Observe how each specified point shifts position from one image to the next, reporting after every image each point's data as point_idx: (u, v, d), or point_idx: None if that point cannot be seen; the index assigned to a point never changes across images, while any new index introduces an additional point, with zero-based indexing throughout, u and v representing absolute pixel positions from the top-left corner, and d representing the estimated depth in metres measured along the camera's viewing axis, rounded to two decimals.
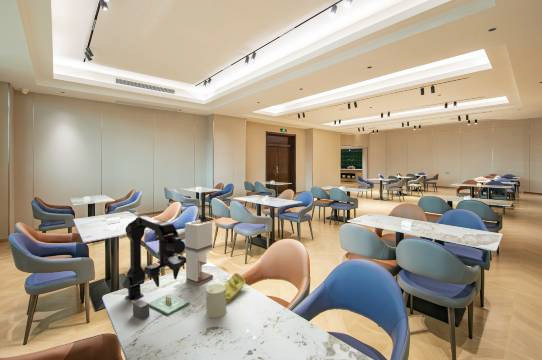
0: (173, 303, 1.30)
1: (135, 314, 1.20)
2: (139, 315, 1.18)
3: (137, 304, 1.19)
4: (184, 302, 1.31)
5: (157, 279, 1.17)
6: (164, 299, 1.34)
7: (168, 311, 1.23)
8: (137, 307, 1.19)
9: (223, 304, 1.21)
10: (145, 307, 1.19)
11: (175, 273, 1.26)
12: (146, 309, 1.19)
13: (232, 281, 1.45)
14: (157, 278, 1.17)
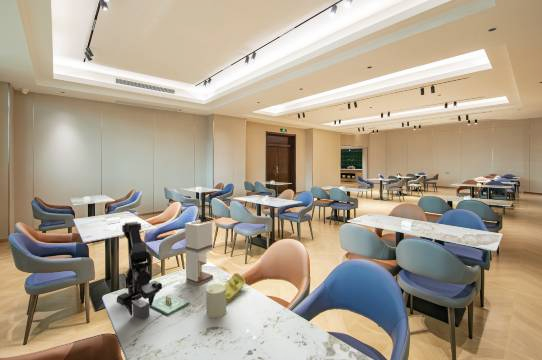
0: (173, 303, 1.30)
1: (135, 314, 1.20)
2: (139, 315, 1.18)
3: (137, 304, 1.19)
4: (184, 302, 1.31)
5: (130, 308, 1.15)
6: (164, 299, 1.34)
7: (168, 311, 1.23)
8: (137, 307, 1.19)
9: (223, 304, 1.21)
10: (145, 307, 1.19)
11: (150, 300, 1.24)
12: (146, 309, 1.19)
13: (232, 281, 1.45)
14: (130, 307, 1.15)
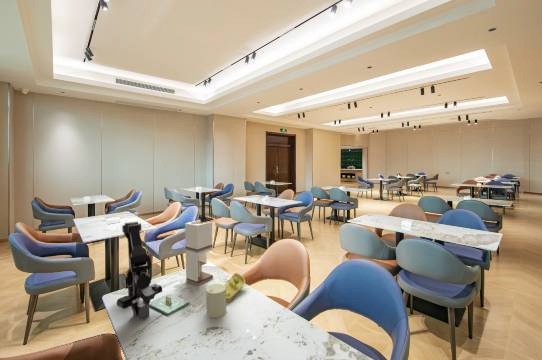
0: (173, 303, 1.30)
1: None
2: (139, 315, 1.18)
3: None
4: (184, 302, 1.31)
5: (135, 308, 1.17)
6: (164, 299, 1.34)
7: (168, 311, 1.23)
8: None
9: (223, 304, 1.21)
10: (145, 307, 1.19)
11: None
12: (146, 309, 1.19)
13: (232, 281, 1.45)
14: (135, 307, 1.17)
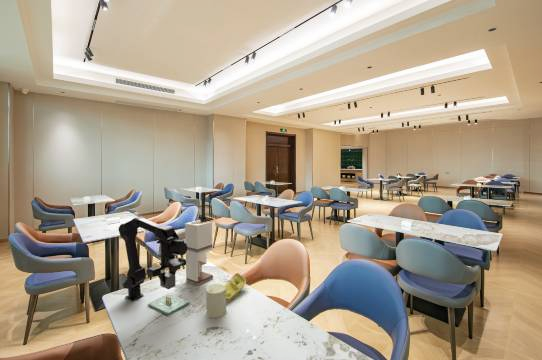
0: (173, 303, 1.30)
1: (162, 284, 1.29)
2: (166, 284, 1.27)
3: (165, 275, 1.28)
4: (184, 302, 1.31)
5: (163, 278, 1.26)
6: (164, 299, 1.34)
7: (168, 311, 1.23)
8: None
9: (223, 304, 1.21)
10: (172, 277, 1.28)
11: None
12: (173, 279, 1.29)
13: (233, 281, 1.45)
14: (163, 277, 1.26)
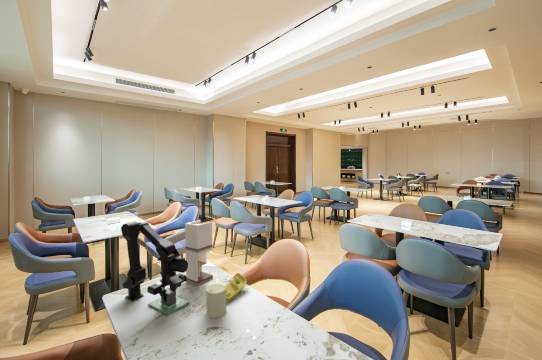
0: None
1: None
2: (167, 301, 1.28)
3: None
4: (184, 302, 1.31)
5: (164, 295, 1.27)
6: None
7: (168, 311, 1.23)
8: None
9: (223, 304, 1.21)
10: (172, 294, 1.29)
11: None
12: (173, 296, 1.29)
13: (233, 281, 1.45)
14: (164, 294, 1.27)
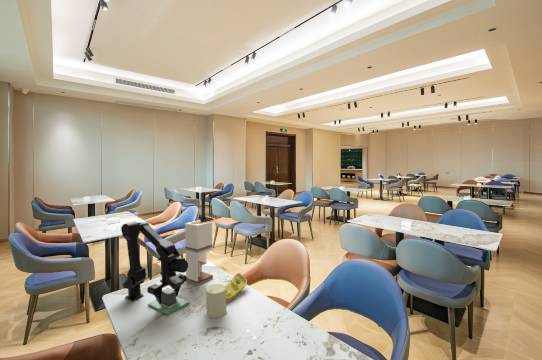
0: None
1: (163, 301, 1.30)
2: (167, 301, 1.28)
3: (165, 292, 1.29)
4: (184, 302, 1.31)
5: (159, 297, 1.25)
6: None
7: (168, 311, 1.23)
8: (165, 294, 1.28)
9: (223, 304, 1.21)
10: (172, 294, 1.29)
11: (176, 291, 1.34)
12: (173, 296, 1.29)
13: (234, 281, 1.45)
14: (159, 297, 1.25)
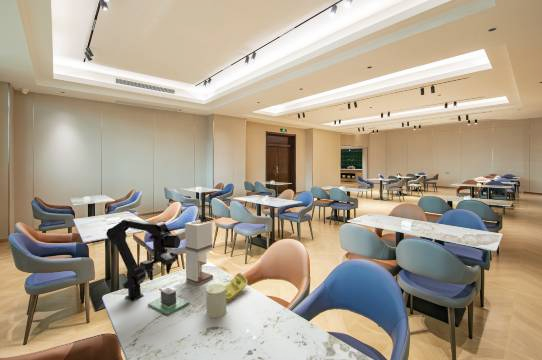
0: None
1: (163, 301, 1.30)
2: (167, 301, 1.28)
3: (165, 292, 1.29)
4: (184, 302, 1.31)
5: (151, 273, 1.30)
6: None
7: (168, 311, 1.23)
8: (165, 294, 1.28)
9: (223, 304, 1.21)
10: (172, 294, 1.29)
11: (168, 268, 1.39)
12: (173, 296, 1.29)
13: (234, 281, 1.45)
14: (151, 272, 1.29)
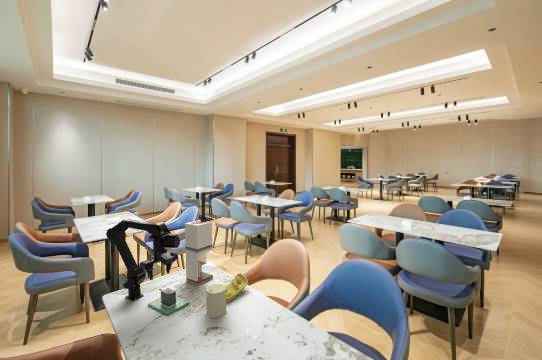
0: None
1: (163, 301, 1.30)
2: (167, 301, 1.28)
3: (165, 292, 1.29)
4: (184, 302, 1.31)
5: (151, 273, 1.30)
6: None
7: (168, 311, 1.23)
8: (165, 294, 1.28)
9: (223, 304, 1.21)
10: (172, 294, 1.29)
11: (168, 268, 1.39)
12: (173, 296, 1.29)
13: (235, 281, 1.45)
14: (151, 272, 1.30)
